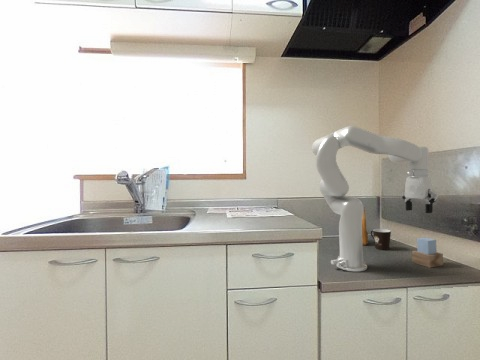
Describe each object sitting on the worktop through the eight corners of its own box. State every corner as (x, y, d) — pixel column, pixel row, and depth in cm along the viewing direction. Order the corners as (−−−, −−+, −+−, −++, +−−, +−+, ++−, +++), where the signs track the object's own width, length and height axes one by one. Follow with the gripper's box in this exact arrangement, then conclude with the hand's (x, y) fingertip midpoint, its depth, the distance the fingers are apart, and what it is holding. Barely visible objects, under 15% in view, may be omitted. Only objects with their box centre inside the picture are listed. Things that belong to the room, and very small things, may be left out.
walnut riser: (429, 267, 112) (429, 256, 112) (412, 262, 120) (412, 251, 120) (443, 265, 115) (442, 253, 115) (425, 259, 123) (424, 249, 122)
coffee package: (366, 246, 147) (365, 207, 147) (343, 244, 154) (342, 207, 154) (369, 242, 155) (368, 205, 155) (347, 240, 162) (346, 205, 162)
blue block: (428, 254, 114) (428, 241, 114) (417, 251, 119) (417, 238, 119) (436, 253, 116) (436, 239, 116) (425, 250, 121) (425, 237, 121)
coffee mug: (394, 251, 137) (393, 232, 137) (376, 250, 139) (375, 232, 139) (385, 245, 149) (385, 227, 149) (369, 245, 150) (369, 227, 150)
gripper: (395, 174, 126) (395, 209, 126) (430, 173, 110) (431, 214, 110) (407, 174, 128) (407, 209, 129) (444, 173, 112) (444, 213, 112)
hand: (418, 211), depth 119 cm, fingers open, 9 cm apart
